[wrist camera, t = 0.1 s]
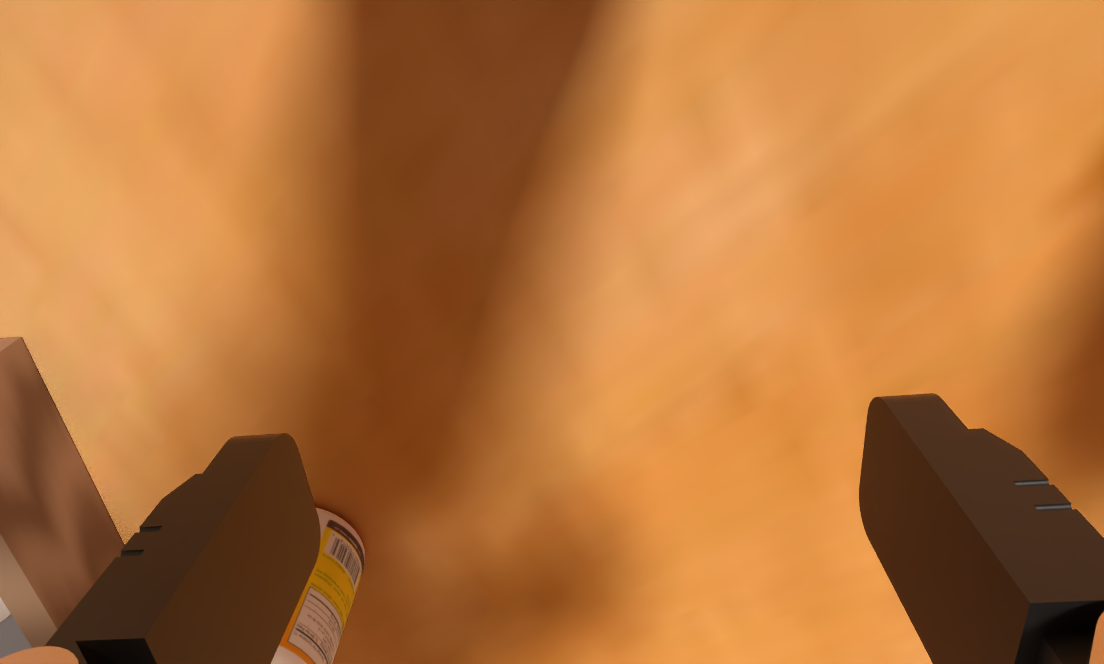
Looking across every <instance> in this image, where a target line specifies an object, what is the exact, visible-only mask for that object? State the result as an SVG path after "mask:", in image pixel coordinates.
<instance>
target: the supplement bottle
mask: <svg viewBox="0 0 1104 664" xmlns="http://www.w3.org/2000/svg"><path fill="white" fill-rule="evenodd" d="M316 510H317V514H318V517H319V522H320V531H321V539H320V549H319V554H318V558H317V561H316V564H315V566H314V569H313V571H312V573H311V575H310V577H309V580H308V582H307V584H306V586H305V589H304V591H303V593H302V595H301V597H300V600H299V602H298V604H297V606H296V609H295V611H294V613H293V615H292V617H291V620H290V622H289V624H288V626H287V628H286V631H285V633H284V635H283V637H282V640H281V642H280V644H279V646H278V648H277V651H276V653H275V655H274V657H273V660H272V662H271V664H332V663H333V660H334V657H335V655H336V652H337V648H338V645H339V642H340V639H341V636H342V633H343V630H344V627H345V624H346V621H347V618H348V615H349V612H350V609H351V606H352V603H353V600H354V597H355V594H356V591H357V588H358V585H359V582H360V579H361V576H362V573H363V569H364V565H365V550H364V546H363V543H362V541H361V539H360V537H359V535H358V534H357V533H356V531H355V530H354V529H353V528H352V527H351V526H350V525H349V524H348V523H347V522H346V521H344V520H343V519H342V518H340V517H338V516H337V515H335V514H333V513H331V512H329V511H326V510H323V509H320V508H316Z"/></svg>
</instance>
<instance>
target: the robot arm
mask: <svg viewBox="0 0 1104 664" xmlns="http://www.w3.org/2000/svg"><path fill="white" fill-rule="evenodd" d="M859 504H860V512H861V517H862V522H863V525H864V529H865V531H866V534H867V536H868V539H869V541H870V543H871V545H872V546H873V548H874V550H875V552H876V554H877V556H878V558H879V560H880V562H881V564H882V566H883V568H884V570H885V572H886V574H887V576H888V577H889V579H890V581H891V583H892V585H893V587H894V589H895V591H896V593H897V595H898V597H899V599H900V601H901V603H902V605H903V606H904V608H905V610H906V612H907V614H908V616H909V618H910V620H911V622H912V624H913V626H914V628H915V630H916V632H917V634H918V636H919V637H920V639H921V641H922V643H923V645H924V647H925V649H926V651H927V653H928V655H929V657H930V659H931V661H932V663H933V664H1104V538H1103V537H1102V536H1101V535H1100V534H1099V533H1098V532H1097V531H1096V529H1095V528H1094V527H1093V526H1092V525H1091V524H1090V523H1089V522H1088V521H1087V520H1086V519H1085V518H1084V517H1083V516H1082V515H1081V513H1080V512H1079V511H1078V510H1077V509H1075V510H1072V508H1071V503H1070V502H1069V501H1068V500H1067V499H1066V497H1065V496H1064V495H1063V494H1062V493H1061V492H1060V491H1059V490H1058V489H1057V488H1056V487H1055V486H1054V485H1049V482H1048V478H1047V477H1046V476H1045V475H1044V474H1043V473H1042V472H1041V471H1040V470H1039V469H1038V468H1037V467H1036V465H1035V464H1034V463H1033V462H1032V461H1031V460H1030V459H1029V458H1028V457H1027V456H1026V455H1025V454H1024V453H1023V452H1022V451H1021V450H1019V449H1018V448H1016V447H1014V446H1012V445H1011V444H1009V443H1007V442H1006V441H1004V440H1002V439H1000V438H999V437H997V436H995V435H994V434H992V433H990V432H988V431H987V430H985V429H983V428H981V429H967V427H966V426H965V425H964V424H963V423H962V422H961V420H960V419H959V418H958V417H957V416H956V415H955V414H954V412H953V411H952V410H951V409H950V408H949V407H948V405H947V404H946V403H945V402H944V401H943V400H942V399H941V398H940V397H939V396H938V395H936V394H933V393H932V394H916V395H901V396H885V397H875V398H874V399H873V400H872V401H871V403H870V405H869V409H868V414H867V423H866V432H865V441H864V450H863V459H862V468H861V477H860V486H859ZM320 539H321V531H320V522H319V517H318V514H317V510H316V507H315V504H314V501H313V497H312V494H311V491H310V487H309V484H308V481H307V477H306V474H305V471H304V468H303V464H302V461H301V458H300V454H299V451H298V448H297V445H296V443H295V441H294V439H293V438H292V437H291V436H290V435H289V434H285V433H283V434H267V435H251V436H236V437H232V438H231V439H229V440H228V441H227V442H226V443H225V445H224V446H223V447H222V449H221V450H220V451H219V453H218V454H217V455H216V457H215V458H214V459H213V461H212V462H211V463H210V465H209V466H208V467H207V468H206V470H205V471H204V472H203V474H195V475H194V476H192V477H191V478H190V479H188V480H187V481H186V482H184V483H183V484H182V485H180V486H179V487H178V488H176V489H175V490H174V491H172V492H171V493H170V494H168V495H167V496H166V497H164V498H163V499H162V500H161V501H160V502H159V504H158V505H157V506H156V507H155V509H154V510H153V511H152V512H151V514H150V515H149V516H148V517H147V519H146V520H145V521H144V522H143V524H142V525H141V526H140V532H139V533H135V534H134V535H133V536H132V537H131V539H130V540H129V541H128V542H127V544H126V545H125V546H124V547H123V549H122V550H121V556H120V557H115V558H114V560H113V561H112V562H111V563H110V565H109V566H108V567H107V568H106V570H105V571H104V572H103V573H102V575H101V576H100V577H99V578H98V580H97V581H96V582H95V583H94V585H93V586H92V587H91V588H90V590H89V591H88V592H87V593H86V595H85V596H84V597H83V598H82V600H81V601H80V602H79V603H78V605H77V606H76V607H75V608H74V610H73V611H72V612H71V613H70V615H69V616H68V617H67V618H66V620H65V621H64V622H63V623H62V625H61V626H60V627H59V628H58V630H57V631H56V632H55V633H54V635H53V636H52V637H51V638H50V640H49V641H48V642H47V643H46V645H45V646H44V647H35V648H30V649H26V650H22V651H19V652H16V653H13V654H10V655H8V656H5V657H3V658H1V659H0V664H271V662H272V660H273V657H274V655H275V653H276V651H277V648H278V646H279V644H280V642H281V640H282V637H283V635H284V633H285V631H286V628H287V626H288V624H289V622H290V620H291V617H292V615H293V613H294V611H295V609H296V606H297V604H298V602H299V600H300V597H301V595H302V593H303V591H304V589H305V586H306V584H307V582H308V580H309V577H310V575H311V573H312V571H313V569H314V566H315V564H316V561H317V558H318V554H319V549H320Z"/></svg>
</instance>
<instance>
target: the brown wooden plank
mask: <svg viewBox="0 0 1104 664" xmlns="http://www.w3.org/2000/svg"><path fill="white" fill-rule="evenodd" d="M123 547H124V544H123V542H122V540H121V538H120V536H119V534H118V532H117V530H116V528H115V526H114V524H113V522H112V520H111V518H110V516H109V514H108V512H107V510H106V508H105V506H104V504H103V502H102V500H101V498H100V496H99V494H98V492H97V490H96V488H95V485H94V483H93V481H92V479H91V477H90V475H89V473H88V471H87V469H86V467H85V465H84V463H83V461H82V459H81V457H80V455H79V453H78V451H77V449H76V447H75V445H74V443H73V441H72V439H71V437H70V435H69V433H68V431H67V429H66V427H65V425H64V423H63V421H62V419H61V417H60V415H59V413H58V411H57V409H56V407H55V405H54V402H53V400H52V398H51V396H50V394H49V392H48V390H47V388H46V386H45V384H44V382H43V380H42V378H41V376H40V374H39V372H38V370H37V368H36V366H35V364H34V362H33V360H32V358H31V356H30V354H29V352H28V350H27V348H26V346H25V344H24V342H23V340H22V338H21V337H13V338H0V597H1V599H2V601H3V602H4V604H5V605H6V607H7V609H8V610H9V612H10V613H11V615H12V616H13V618H14V620H15V621H16V623H17V624H18V626H19V628H20V629H21V631H22V632H23V634H24V636H25V637H26V639H27V640H28V642H29V643H30V645H31V647H32V648H35V647H44V646H45V645H46V643H47V642H48V641H49V640H50V638H51V637H52V636H53V635H54V633H55V632H56V631H57V630H58V628H59V627H60V626H61V625H62V623H63V622H64V621H65V620H66V618H67V617H68V616H69V615H70V613H71V612H72V611H73V610H74V608H75V607H76V606H77V605H78V603H79V602H80V601H81V600H82V598H83V597H84V596H85V595H86V593H87V592H88V591H89V590H90V588H91V587H92V586H93V585H94V583H95V582H96V581H97V580H98V578H99V577H100V576H101V575H102V573H103V572H104V571H105V570H106V568H107V567H108V566H109V565H110V563H111V562H112V561H113V560H114V558H115V557H120V556H121V550H122V549H123Z"/></svg>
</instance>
